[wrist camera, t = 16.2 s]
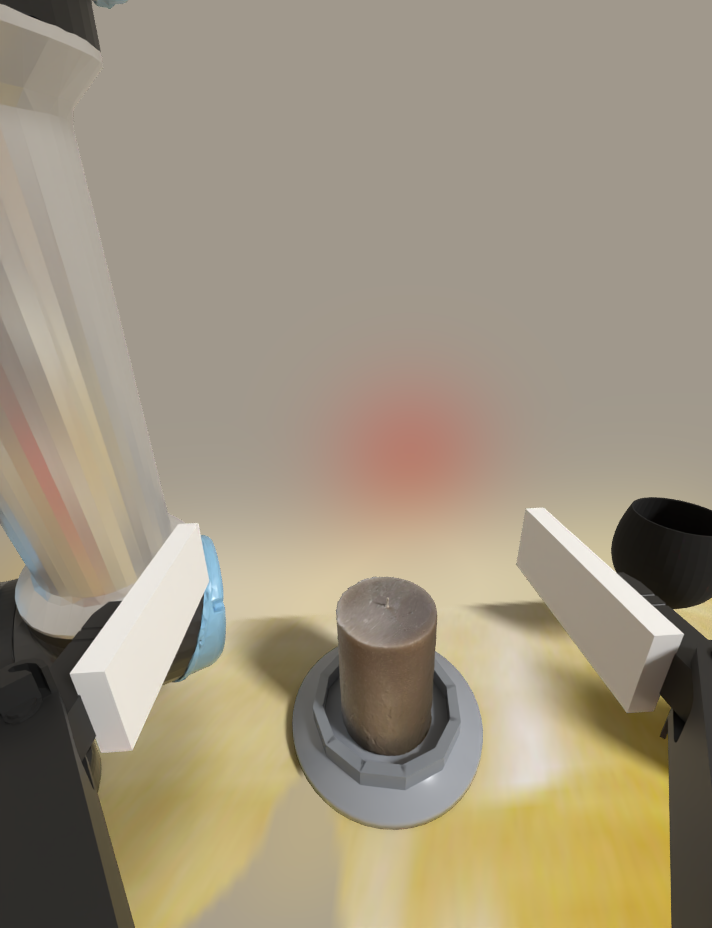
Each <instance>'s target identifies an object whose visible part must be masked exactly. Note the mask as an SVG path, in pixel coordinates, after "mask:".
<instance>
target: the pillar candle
mask: <svg viewBox="0 0 712 928" xmlns="http://www.w3.org/2000/svg"><path fill="white" fill-rule="evenodd" d="M336 615H337V619H336V620H337V629H338V653H339V673H340V689H341V711H342V716H343V723H344V725H345V727H346V730H347V732H348V734H349V735H350V736H351V738H352V739H353V740H354V741H355V742H356V743H357V744H358V745H359V746H361V747H362V748H364V749H365V750H367V751H369V752H372V753H375V754H379V755H385V756H399V755H403V754H406V753H409V752H410V751H412V750H413V749H415V748H417V746H418V745H420V744H421V743H422V742H423V740H424V739H425V737H426V736H427V734H428V732H429V729H430V726H431V721H432V716H431V708H432V701H433V676H434V667H435V646H436V627H437V610H436V606H435V603H434V601H433V599H432V598H431V596H430V595H429V594H428V593H427V592H426V591H425V590H424V589H423V588H421V587H419V586H418V585H416V584H414V583H412V582H410V581H406V580H403V579H399V578H393V577H372V578H370V579H364V580H362V581H361V582H358V583H357V584H355V585H354V586H352V587H349V588H348V590H347V591H345V592H344V593H343V594H342V596H341V598H340V600H339V601H338V604H337V610H336Z"/></svg>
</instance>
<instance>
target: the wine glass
mask: <svg viewBox="0 0 712 928" xmlns="http://www.w3.org/2000/svg"><path fill="white" fill-rule="evenodd" d="M611 554H612V561H613V565H614V568H615V570H616V573H620V572H624V573H625V574H627V575H629V576H631V577H633V578H634V579H636V580H638V581H640V582H641V583H642V584H644V585H645V586H646V587H647V588H648V589H649V590H651V591H652V592H653V593H654V595H655V596H658V597H659V598H660V599H661V600H662V601H663V602H665V605H666V606H669V607H670V608H672V609H680V608H687V607H692V606H695V605H699V604H701V603H703V602H705V601H707V600H709V599H711V598H712V510H709V509H707V508H704V507H701V506H699V505H695V504H692V503H687V502H684V501H679V500H674V499H667V498H656V497H655V498H654V497H649V498H641V499H638V500H635V501H634V502H633V503H632V504H631V505H630V507H629V508H628V509H627V511H626V512H625V514H624V515H623V517H622V518H621V520H620V522H619V524H618V526H617V528H616V531H615V534H614V537H613V541H612V548H611Z"/></svg>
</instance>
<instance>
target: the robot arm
mask: <svg viewBox="0 0 712 928" xmlns="http://www.w3.org/2000/svg"><path fill="white" fill-rule="evenodd" d="M92 1H94V3H95V4H96V5H97V6H100V7H107V8H109V9H111V8H112V7H113V6H114V5H115V4H123V3H126V2H127V0H0V524H1V526H2V527H3V529H4V531H5V532H6V534H7V535H8V537H9V539H10V540H11V542H12V544H13V545H14V547H15V548H16V550H17V552H18V553H19V555H20V556H21V558H22V560H23V561H24V563H25V564H26V565H25V567H24V568H23V570H22V572H21V574H20V576H19V578H18V579H15V580H11V581H6V582H0V928H135V926H134V922H133V919H132V915H131V911H130V908H129V904H128V901H127V897H126V894H125V890H124V886H123V883H122V879H121V876H120V872H119V869H118V865H117V861H116V858H115V854H114V851H113V847H112V844H111V840H110V836H109V833H108V829H107V826H106V822H105V819H104V815H103V811H102V808H101V804H100V801H99V797H98V794H97V792H98V788H99V784H100V779H101V760H100V755H99V753H98V750H97V748H96V745H95V743H94V739H96V741H97V744H98V746H99V749H100V751H101V753H107V752H120V751H132V750H133V748H134V746H135V744H136V741H137V739H138V737H139V735H140V733H141V730H142V728H143V726H144V724H145V722H146V719H147V717H148V715H149V713H150V710H151V708H152V706H153V704H154V702H155V699H156V697H157V695H158V693H159V691H160V688H161V686H162V685H165V684H167V683H170V682H180V681H182V680H184V679H186V677H188V675H190V674H193V673H195V672H197V671H199V670H202V669H204V668H206V667H208V666H210V665H212V664H213V663H214V662H216V660H217V659H218V658H219V657H220V655H221V653H222V651H223V648H224V644H225V635H226V617H225V607H224V604H223V584H222V577H221V572H220V566H219V561H218V557H217V553H216V550H215V547H214V544H213V542H212V540H211V539H210V538H209V537H208V536H205V535H200V530H199V525H198V523H190V524H186V523H184V522H183V521H182V520H181V519H179V518H177V517H176V516H174V515H171V514H169V513H168V512H167V508H166V503H165V500H164V495H163V491H162V488H161V483H160V479H159V475H158V471H157V467H156V463H155V459H154V455H153V450H152V446H151V443H150V439H149V434H148V430H147V426H146V422H145V418H144V414H143V410H142V406H141V402H140V397H139V393H138V389H137V385H136V381H135V377H134V373H133V369H132V365H131V361H130V357H129V353H128V349H127V345H126V341H125V336H124V332H123V328H122V324H121V320H120V316H119V312H118V308H117V304H116V300H115V296H114V292H113V288H112V284H111V279H110V275H109V271H108V267H107V263H106V259H105V255H104V251H103V247H102V243H101V239H100V234H99V231H98V226H97V222H96V219H95V214H94V210H93V206H92V202H91V198H90V194H89V190H88V186H87V181H86V178H85V173H84V169H83V165H82V161H81V157H80V153H79V149H78V145H77V141H76V137H75V133H74V128H73V114H74V111H73V110H74V108H75V107H76V105H77V104H78V102H79V101H80V100H81V98H82V97H83V95H84V94H85V93H86V91H87V90H88V88H89V87H90V86H91V84H92V83H93V81H94V80H95V78H96V77H97V76H98V74H99V73H100V71H101V70H102V69H103V61H102V55H101V51H100V45H99V40H98V35H97V30H96V25H95V20H94V15H93V10H92ZM516 565H517V566H518V568H519V569H520V570H521V572H522V573H523V574H524V576H525V577H526V578H527V580H528V581H529V582H530V584H531V585H532V586H533V588H534V589H535V590H536V592H537V593H538V594H539V596H540V597H541V598H542V600H543V601H544V603H545V604H546V605H547V607H548V608H549V609H550V611H551V612H552V613H553V615H554V616H555V617H556V619H557V620H558V621H559V623H560V624H561V625H562V627H563V628H564V629H565V631H566V632H567V633H568V635H569V636H570V637H571V639H572V640H573V641H574V643H575V644H576V645H577V647H578V648H579V649H580V651H581V652H582V653H583V655H584V656H585V657H586V659H587V660H588V662H589V663H590V664H591V666H592V667H593V668H594V670H595V671H596V672H597V674H598V675H599V676H600V678H601V679H602V680H603V682H604V683H605V684H606V686H607V687H608V688H609V690H610V691H611V692H612V694H613V695H614V696H615V698H616V699H617V700H618V702H619V703H620V704H621V706H622V707H623V708H624V710H625V711H626V712H627V713H636V712H649V711H654V709H655V707H656V704H657V702H658V699H659V697H660V695H661V696H662V697H663V698H664V700H665V701H666V702H667V703H668V704H669V705H670V707H671V710H670V712H669V715H668V717H667V720H666V722H665V724H664V727H663V729H662V732H661V735H660V737H662V738H664V739H665V738H666V736H667V733H668V756H669V812H670V868H671V924H672V928H712V640H708V639H706V638H705V637H704V636H703V635H702V634H701V633H700V632H698V631H697V630H696V629H695V628H694V627H693V626H691V625H690V624H689V623H688V622H687V621H686V620H684V619H683V618H682V617H681V616H680V615H679V614H677V613H676V612H675V611H674V610H673V609H672V608H670V607H669V606H666V605H665V602H663V601H662V600H661V599H660V598H659V597H658V596H655V595H654V593H653V592H652V591H651V590H649V589H648V588H647V587H646V586H645V585H644V584H642V583H641V582H640V581H638V580H636V579H634V578H633V577H631V576H629V575H627V574H625V573H624V572H620V573H616V572H615V571H614V570H612V569H611V568H610V567H609V566H608V565H607V564H606V563H605V562H604V561H602V560H601V559H600V558H599V557H598V556H597V555H596V554H595V553H594V552H592V551H591V550H590V549H589V548H588V547H587V546H586V545H585V544H584V543H582V542H581V541H580V540H579V539H578V538H577V537H576V536H575V535H574V534H572V533H571V532H570V531H569V530H568V529H567V528H566V527H565V526H564V525H562V524H561V523H560V522H559V521H558V520H557V519H556V518H554V516H553V515H551V514H550V513H549V512H548V511H547V510H546V509H545V508H527V509H526V510H525V516H524V522H523V528H522V534H521V540H520V546H519V552H518V557H517V563H516Z"/></svg>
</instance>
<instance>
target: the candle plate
mask: <svg viewBox="0 0 712 928" xmlns="http://www.w3.org/2000/svg"><path fill="white" fill-rule="evenodd" d="M431 716H432V721H431V726H430V729H429V732H428V734H427V736H426V737H425V739H424V740H423V742H422V743H421V744H420V745H418V746H417V748H415V749H413V750H412V751H410V752H409V753H406V754H403V755H399V756H385V755H379V754H375V753H372V752H369V751H367V750H365V749H364V748H362V747H361V746H359V745H358V744H357V743H356V742H355V741H354V740H353V739H352V738H351V736H350V735H349V734H348V732H347V730H346V727H345V725H344V723H343V716H342V711H341V689H340V673H339V653H338V647H336V648H334V649H333V650H331V651H330V652H328V653H327V654H326V655H324V656H323V657H322V658H321V659H320V660H319V661H318V662H317V663H316V664H315V665H314V666H313V667H312V668H311V670H310V671H309V672H308V674H307V675H306V677H305V678H304V680H303V682H302V684H301V686H300V688H299V691H298V694H297V697H296V700H295V705H294V710H293V721H292V724H293V738H294V745H295V750H296V755H297V758H298V760H299V763H300V766H301V769H302V771H303V773H304V775H305V776H306V778H307V780H308V782H309V783H310V784H311V786H312V787H313V789H314V790H315V792H316V793H317V794H318V795H319V796H320V797H321V798H322V799H323V800H324V801H325V802H326V803H327V804H328V805H329V806H330V807H332V808H333V809H334V810H335V811H337V812H338V813H340V814H341V815H343V816H345V817H347V818H348V819H350V820H352V821H355V822H357V823H360V824H363V825H365V826H369V827H374V828H379V829H391V830H399V829H408V828H414V827H417V826H420V825H424V824H427V823H429V822H431V821H433V820H435V819H437V818H439V817H441V816H442V815H444V814H445V813H446V812H448V811H449V810H450V809H452V808H453V807H454V806H455V805H456V804H457V803H458V802H459V801H460V800H461V799H462V797H463V796H464V794H465V793H466V792H467V790H468V789H469V787H470V785H471V783H472V781H473V779H474V777H475V775H476V772H477V769H478V766H479V762H480V756H481V750H482V743H483V728H482V720H481V715H480V711H479V707H478V704H477V701H476V699H475V696H474V694H473V692H472V690H471V689H470V687H469V685H468V683H467V682H466V680H465V679H464V678H463V676H462V675H461V674H460V672H459V671H458V670H457V669H456V668H455V667H454V666H453V665H452V664H451V663H450V662H449V661H448V660H447V659H445V658H444V657H443V656H441V655H440V654H439V653H437V652H436V651H435V667H434V676H433V701H432V708H431Z"/></svg>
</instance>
